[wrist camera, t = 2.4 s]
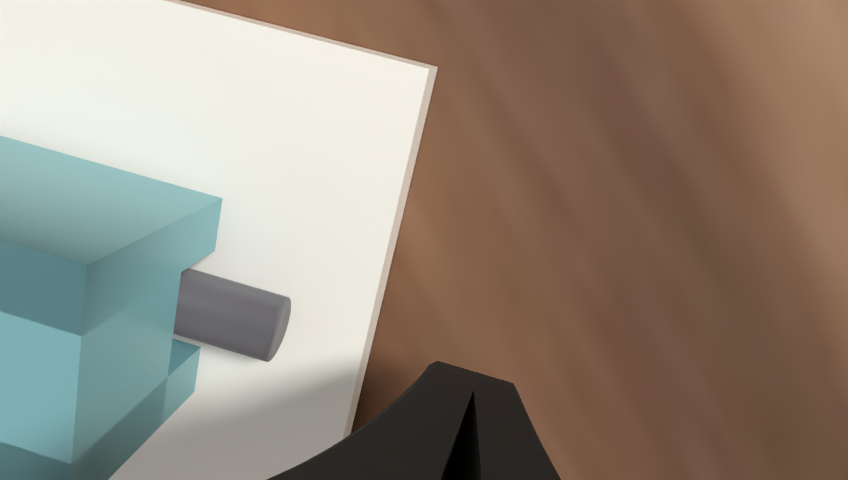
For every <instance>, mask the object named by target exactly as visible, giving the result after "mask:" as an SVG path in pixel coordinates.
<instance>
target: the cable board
mask: <svg viewBox="0 0 848 480" xmlns="http://www.w3.org/2000/svg"><path fill="white" fill-rule="evenodd" d="M437 68H438V67H436V66H432V65H428V64H424V63H420V62H417V61H413V60H409V59H405V58H401V57H397V56H393V55H390V54H386V53H382V52H378V51H374V50H370V49H366V48H362V47H359V46H355V45H351V44H347V43H343V42H339V41H335V40H331V39H328V38H324V37H320V36H316V35H312V34H308V33H304V32H300V31H297V30H293V29H289V28H285V27H281V26H277V25H273V24H269V23H266V22H262V21H258V20H254V19H250V18H246V17H242V16H238V15H235V14H231V13H227V12H223V11H219V10H215V9H211V8H207V7H204V6H200V5H196V4H192V3H188V2H184V1H180V0H0V136H4V137H8V138H11V139H15V140H18V141H22V142H25V143H29V144H32V145H36V146H39V147H43V148H46V149H50V150H54V151H57V152H61V153H64V154H68V155H71V156H75V157H78V158H82V159H85V160H89V161H92V162H96V163H99V164H103V165H107V166H110V167H114V168H117V169H121V170H124V171H128V172H131V173H135V174H138V175H142V176H145V177H149V178H152V179H156V180H160V181H163V182H167V183H170V184H174V185H177V186H181V187H184V188H188V189H191V190H195V191H198V192H202V193H205V194H209V195H213V196H216V197H220V198H223V199H222V206H221V212H220V219H219V226H218V233H217V240H216V247H215V251H213V252H212V253H210V254H209V255H207V256H206V257H204V258H203V259H201V260H199V261H198V262H196V263H195V264H193V265H192V266H190V267H189V268H187V269H185V270H184V271H182V272H181V278H180V285H179V293H178V301H177V308H176V316H175V324H174V332H173V339H176V340H179V341H183V342H186V343H189V344H193V345H196V346H199V347H201V350H200V357H199V363H198V370H197V377H196V384H195V391H194V393H193V394H192V395H191V396H190V397H189V398H188V399H187V400H186V401H185V402H184V403H183V404H182V405H181V406H180V407H179V408H178V409H177V410H176V411H175V412H174V413H173V414H172V415H171V416H170V417H169V418H168V419H167V420H166V421H165V422H164V423H163V424H162V425H161V426H160V427H159V428H158V429H157V430H156V431H155V432H154V433H153V434H152V436H151V437H150V438H149V439H148V440H147V441H146V442H145V443H144V444H143V445H142V446H141V447H140V448H139V449H138V450H137V451H136V452H135V453H134V454H133V455H132V456H131V457H130V458H129V459H128V460H127V461H126V462H125V463H124V464H123V465H122V466H121V467H120V468H119V469H118V470H117V471H116V472H115V473H114V474H113V475H112V476H111V477H110V478H109V479H108V480H266V479H269V478H271V477H273V476H275V475H278V474H280V473H282V472H284V471H286V470H289V469H291V468H293V467H295V466H297V465H299V464H301V463H303V462H305V461H307V460H308V459H310V458H312V457H314V456H316V455H318V454H319V453H321V452H323V451H325V450H326V449H328V448H330V447H331V446H333V445H335V444H336V443H338V442H339V441H341V440H343V439H344V438H346V437H347V436H349V435H350V434H351V430H352V426H353V421H354V417H355V413H356V409H357V405H358V400H359V396H360V392H361V388H362V384H363V379H364V375H365V371H366V367H367V363H368V358H369V354H370V350H371V346H372V342H373V337H374V333H375V329H376V325H377V321H378V316H379V312H380V308H381V304H382V300H383V295H384V291H385V287H386V283H387V279H388V274H389V270H390V266H391V262H392V258H393V253H394V249H395V245H396V241H397V237H398V232H399V228H400V224H401V220H402V216H403V211H404V207H405V203H406V199H407V195H408V190H409V186H410V182H411V178H412V174H413V169H414V165H415V161H416V157H417V153H418V148H419V144H420V140H421V136H422V132H423V127H424V123H425V119H426V115H427V110H428V106H429V102H430V98H431V94H432V89H433V85H434V81H435V77H436V73H437Z"/></svg>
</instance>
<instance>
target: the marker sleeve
mask: <svg viewBox="0 0 848 480" xmlns="http://www.w3.org/2000/svg"><path fill="white" fill-rule="evenodd" d="M222 199H223V198H220V197H216V196H213V195H209V194H205V193H202V192H198V191H195V190H191V189H188V188H184V187H181V186H177V185H174V184H170V183H167V182H163V181H160V180H156V179H152V178H149V177H145V176H142V175H138V174H135V173H131V172H128V171H124V170H121V169H117V168H114V167H110V166H107V165H103V164H99V163H96V162H92V161H89V160H85V159H82V158H78V157H75V156H71V155H68V154H64V153H61V152H57V151H54V150H50V149H46V148H43V147H39V146H36V145H32V144H29V143H25V142H22V141H18V140H15V139H11V138H8V137H4V136H0V480H108V479H109V478H110V477H111V476H112V475H113V474H114V473H115V472H116V471H117V470H118V469H119V468H120V467H121V466H122V465H123V464H124V463H125V462H126V461H127V460H128V459H129V458H130V457H131V456H132V455H133V454H134V453H135V452H136V451H137V450H138V449H139V448H140V447H141V446H142V445H143V444H144V443H145V442H146V441H147V440H148V439H149V438H150V437H151V436H152V434H153V433H154V432H155V431H156V430H157V429H158V428H159V427H160V426H161V425H162V424H163V423H164V422H165V421H166V420H167V419H168V418H169V417H170V416H171V415H172V414H173V413H174V412H175V411H176V410H177V409H178V408H179V407H180V406H181V405H182V404H183V403H184V402H185V401H186V400H187V399H188V398H189V397H190V396H191V395H192V394H193V393H194V391H195V384H196V377H197V370H198V363H199V357H200V350H201V347H199V346H196V345H193V344H189V343H186V342H183V341H179V340H176V339H173V332H174V324H175V316H176V308H177V301H178V293H179V285H180V278H181V272H182V271H184V270H185V269H187V268H189V267H190V266H192V265H193V264H195V263H196V262H198V261H199V260H201V259H203V258H204V257H206V256H207V255H209V254H210V253H212V252H213V251H215V247H216V240H217V233H218V226H219V219H220V212H221V206H222Z"/></svg>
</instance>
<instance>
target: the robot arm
mask: <svg viewBox="0 0 848 480" xmlns="http://www.w3.org/2000/svg"><path fill="white" fill-rule="evenodd" d="M266 480H561V479H560V477H559V475H558V474H557V472H556V470H555V468H554V466H553V464H552V463H551V461H550V459H549V457H548V455H547V453H546V451H545V449H544V448H543V446H542V444H541V442H540V440H539V438H538V436H537V434H536V431H535V429H534V427H533V425H532V423H531V421H530V419H529V416H528V414H527V412H526V410H525V408H524V405H523V403H522V401H521V398H520V396H519V394H518V392H517V390H516V388H515V386H514V384H513V383H510V382H507V381H504V380H500V379H497V378H493V377H490V376H487V375H483V374H480V373H477V372H473V371H470V370H466V369H463V368H460V367H456V366H453V365H450V364H446V363H443V362H439V361H436V362H434V363H432V364H430V365H428V367H427V369H426V370H425V371H424V373H423V374H422V375H421V376H420V377H419V378H418V379H417V380H416V381H415V382H414V383H413V384H412V385H411V386H410V387H409V388H408V389H407V390H406V391H405V392H404V393H403V394H402V395H401V396H400V397H398V398H397V399H396V400H395V401H394V402H392V403H391V404H390V405H389V406H388V407H387V408H385V409H384V410H383V411H382V412H381V413H379V414H378V415H377V416H375V417H374V418H373V419H371V420H370V421H368V422H367V423H366V424H364V425H363V426H361V427H360V428H359V429H357V430H356V431H354V432H353V433H352V434H350V435H349V436H347V437H346V438H344V439H343V440H341V441H339V442H338V443H336V444H335V445H333V446H331V447H330V448H328V449H326V450H325V451H323V452H321V453H319V454H318V455H316V456H314V457H312V458H310V459H308V460H307V461H305V462H303V463H301V464H299V465H297V466H295V467H293V468H291V469H289V470H286V471H284V472H282V473H280V474H278V475H275V476H273V477H271V478H269V479H266Z"/></svg>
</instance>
